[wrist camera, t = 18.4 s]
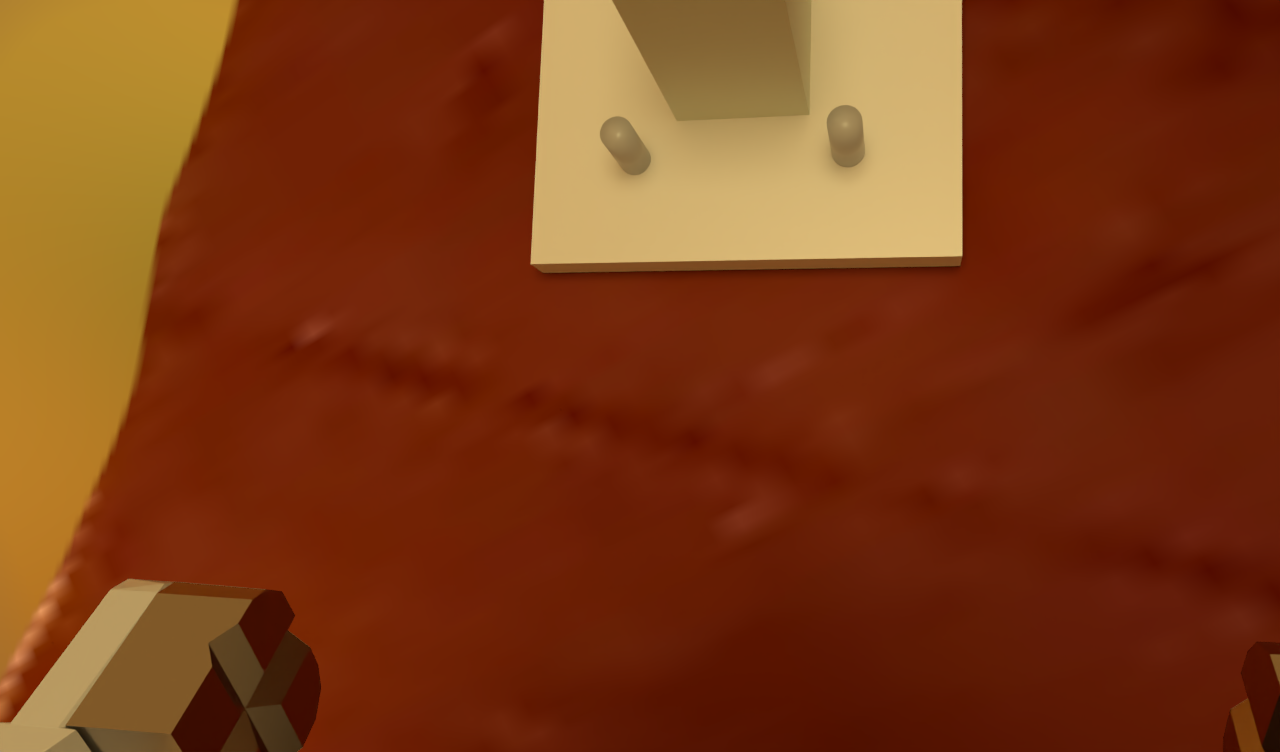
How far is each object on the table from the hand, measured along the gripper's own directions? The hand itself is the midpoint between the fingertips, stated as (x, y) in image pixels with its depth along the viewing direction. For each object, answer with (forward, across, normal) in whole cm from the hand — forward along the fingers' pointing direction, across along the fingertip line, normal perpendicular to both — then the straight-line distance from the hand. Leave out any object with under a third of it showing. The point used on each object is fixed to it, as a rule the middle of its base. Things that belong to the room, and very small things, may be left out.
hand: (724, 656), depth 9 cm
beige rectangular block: (+34, +4, +8) cm, 36 cm away
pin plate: (+36, +4, +9) cm, 37 cm away
